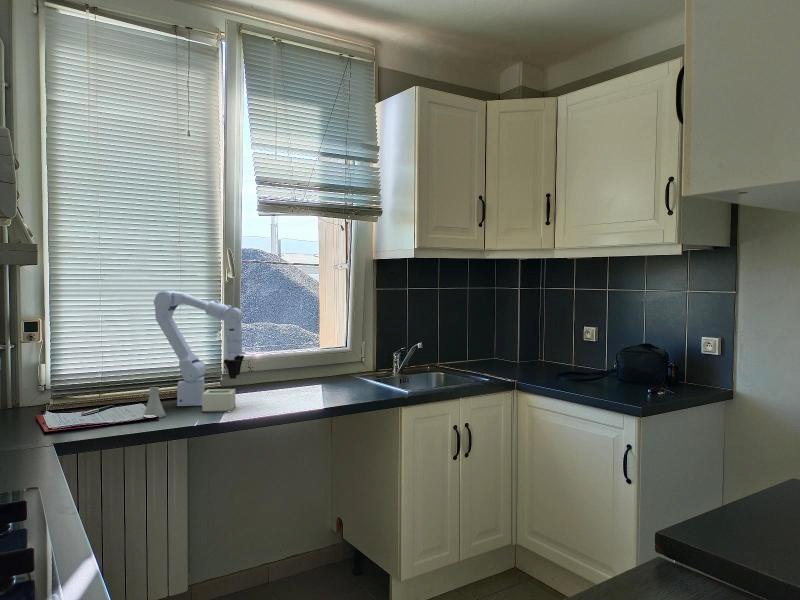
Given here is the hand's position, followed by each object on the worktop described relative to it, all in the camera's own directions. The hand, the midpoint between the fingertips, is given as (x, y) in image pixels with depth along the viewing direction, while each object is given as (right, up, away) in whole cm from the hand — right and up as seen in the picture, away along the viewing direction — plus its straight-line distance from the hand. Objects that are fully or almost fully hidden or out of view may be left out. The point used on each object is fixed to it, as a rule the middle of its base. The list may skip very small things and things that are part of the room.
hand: (234, 376), depth 224 cm
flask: (-22, -12, -19) cm, 31 cm away
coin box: (-3, -11, -8) cm, 14 cm away
